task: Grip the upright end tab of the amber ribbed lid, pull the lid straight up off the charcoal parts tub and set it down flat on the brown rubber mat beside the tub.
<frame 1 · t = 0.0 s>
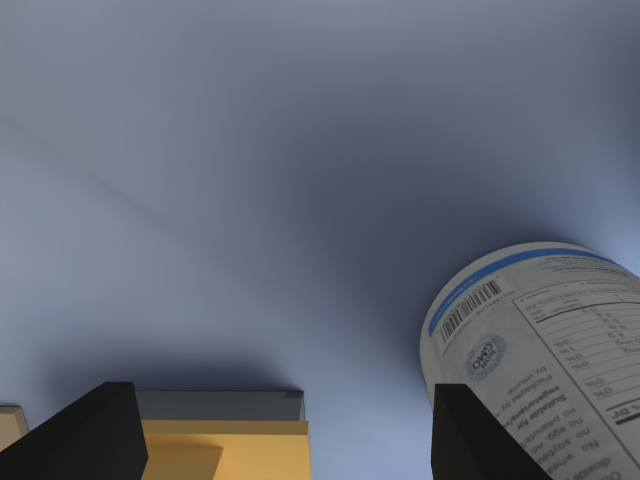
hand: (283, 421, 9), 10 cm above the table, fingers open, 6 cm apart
supplement tub: (522, 332, 20), on the table, touching gripper
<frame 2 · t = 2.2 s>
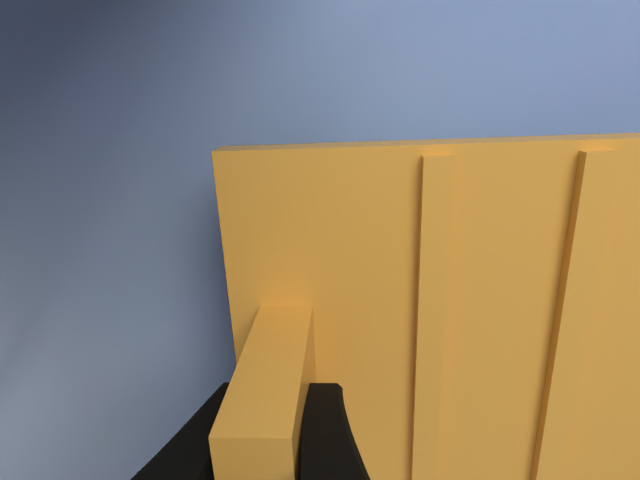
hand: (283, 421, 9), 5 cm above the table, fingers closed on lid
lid: (532, 345, 12), point 2 cm above the table, touching gripper, parts tub
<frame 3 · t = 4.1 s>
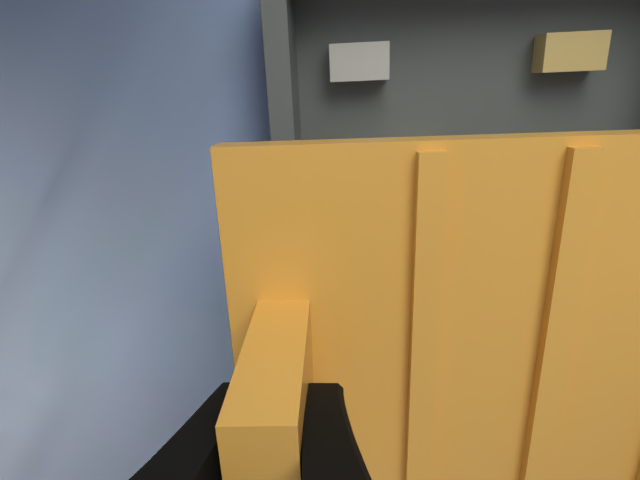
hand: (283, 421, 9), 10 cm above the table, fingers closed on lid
parts tub: (466, 115, 17), on the table
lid: (522, 337, 12), point 7 cm above the table, touching gripper
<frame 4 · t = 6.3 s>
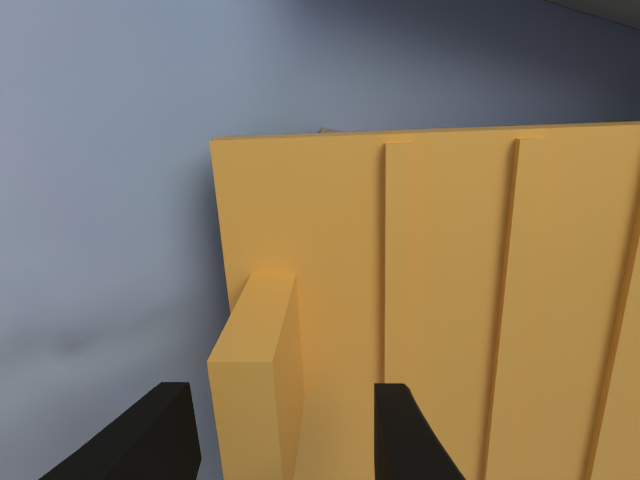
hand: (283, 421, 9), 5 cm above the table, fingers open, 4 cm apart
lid: (490, 311, 14), resting on mat
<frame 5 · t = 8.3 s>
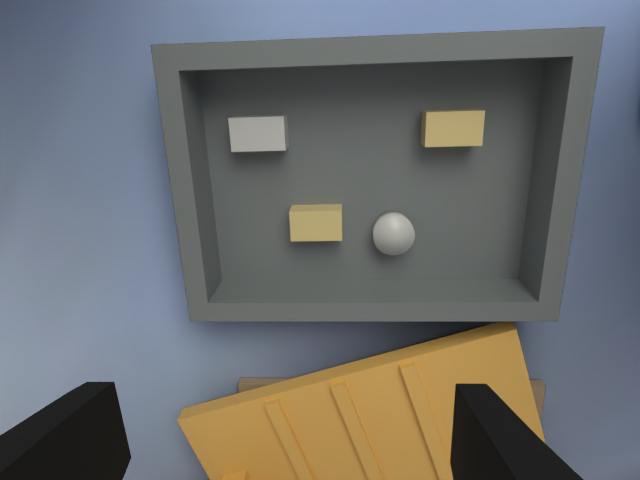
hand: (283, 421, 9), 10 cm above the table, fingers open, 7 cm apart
parts tub: (366, 178, 18), on the table
mat: (386, 454, 23), on the table
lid: (373, 449, 22), resting on mat
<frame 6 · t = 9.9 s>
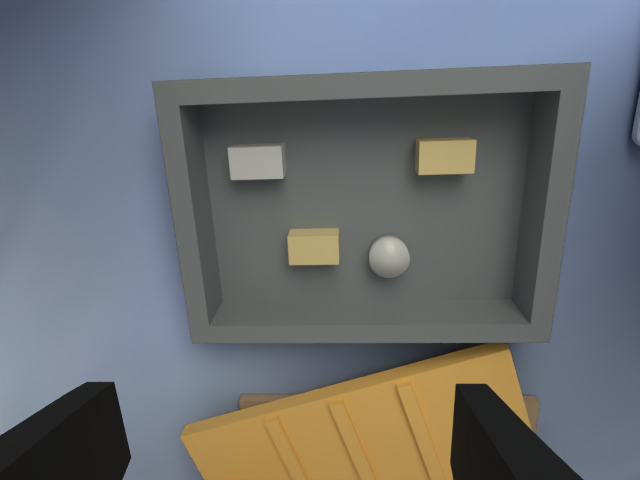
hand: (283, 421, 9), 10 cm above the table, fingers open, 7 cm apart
parts tub: (362, 203, 18), on the table
mat: (384, 467, 23), on the table
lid: (372, 463, 22), resting on mat
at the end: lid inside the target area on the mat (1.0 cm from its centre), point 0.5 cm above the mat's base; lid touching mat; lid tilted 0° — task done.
